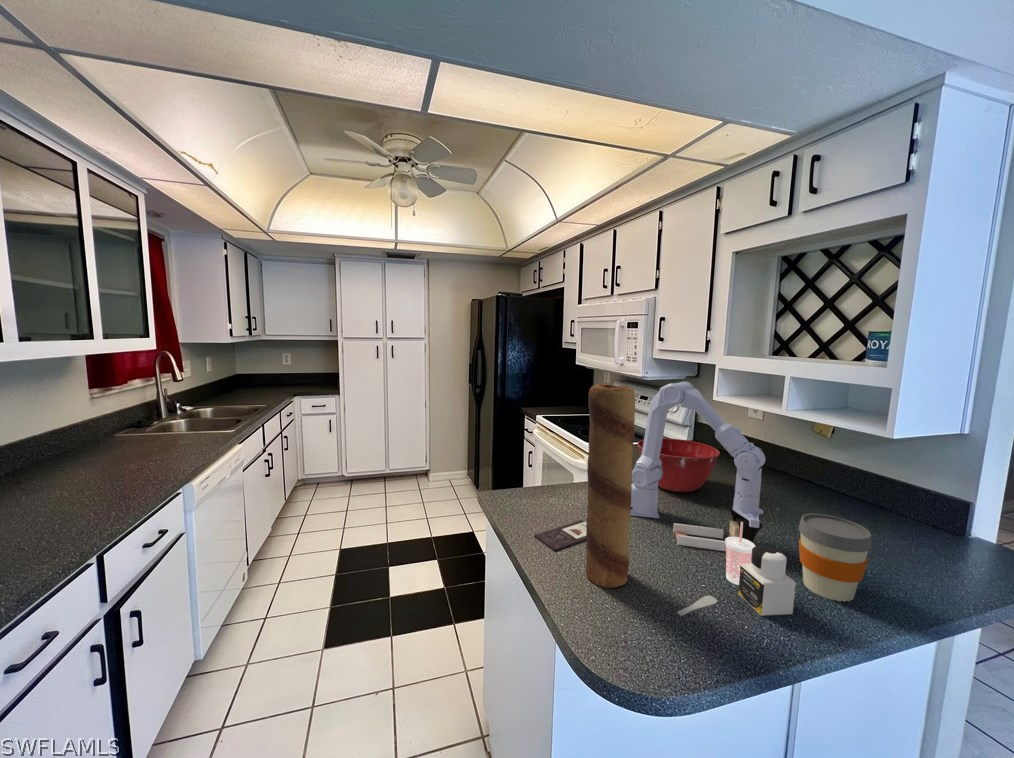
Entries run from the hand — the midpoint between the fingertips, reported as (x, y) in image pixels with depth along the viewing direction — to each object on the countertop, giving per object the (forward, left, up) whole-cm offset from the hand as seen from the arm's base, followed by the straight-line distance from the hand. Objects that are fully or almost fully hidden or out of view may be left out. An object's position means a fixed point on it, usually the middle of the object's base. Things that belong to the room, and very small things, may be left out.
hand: (743, 541), depth 108 cm
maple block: (-1, 0, -2) cm, 2 cm away
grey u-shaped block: (-10, 0, -2) cm, 11 cm away
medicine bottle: (-3, -25, -2) cm, 25 cm away
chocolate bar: (-46, -7, -2) cm, 47 cm away
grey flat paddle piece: (-22, -34, -2) cm, 40 cm away
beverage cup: (-6, -17, -2) cm, 18 cm away
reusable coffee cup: (+13, -15, -2) cm, 20 cm away
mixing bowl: (-11, +43, -2) cm, 44 cm away
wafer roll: (-36, -24, -2) cm, 43 cm away
